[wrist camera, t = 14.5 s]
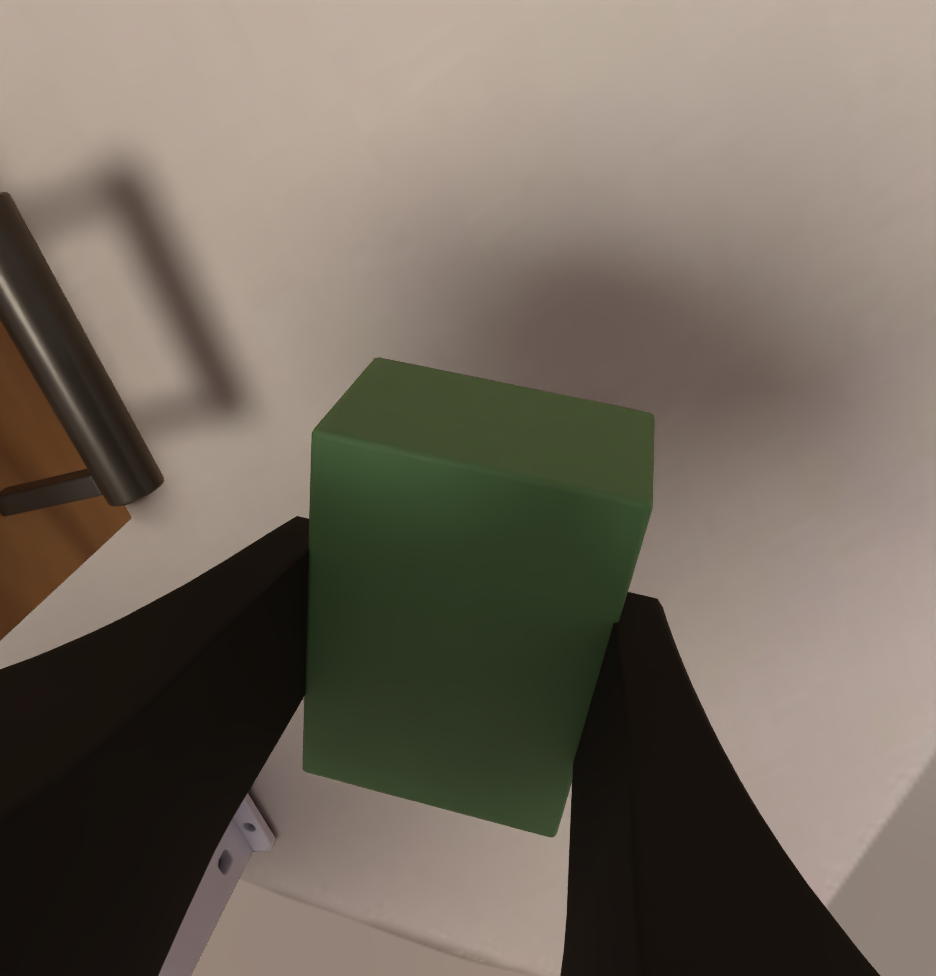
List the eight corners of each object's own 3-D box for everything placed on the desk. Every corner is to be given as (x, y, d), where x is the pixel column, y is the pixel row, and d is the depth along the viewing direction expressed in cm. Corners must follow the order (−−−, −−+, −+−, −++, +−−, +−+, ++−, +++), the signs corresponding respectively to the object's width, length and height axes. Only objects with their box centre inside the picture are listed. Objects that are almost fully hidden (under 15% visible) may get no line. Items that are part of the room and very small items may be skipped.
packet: (571, 718, 14) (555, 841, 12) (353, 663, 15) (300, 772, 12) (656, 411, 11) (654, 504, 9) (374, 353, 11) (309, 429, 9)
